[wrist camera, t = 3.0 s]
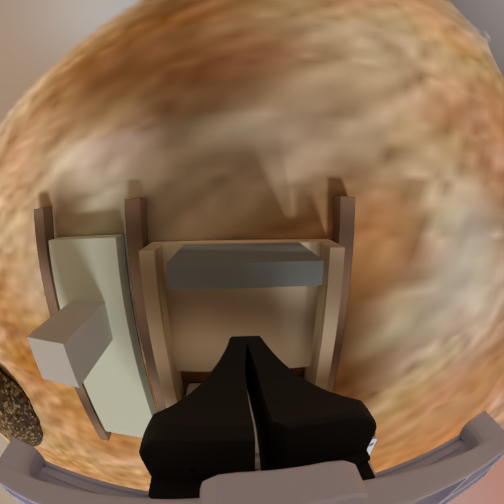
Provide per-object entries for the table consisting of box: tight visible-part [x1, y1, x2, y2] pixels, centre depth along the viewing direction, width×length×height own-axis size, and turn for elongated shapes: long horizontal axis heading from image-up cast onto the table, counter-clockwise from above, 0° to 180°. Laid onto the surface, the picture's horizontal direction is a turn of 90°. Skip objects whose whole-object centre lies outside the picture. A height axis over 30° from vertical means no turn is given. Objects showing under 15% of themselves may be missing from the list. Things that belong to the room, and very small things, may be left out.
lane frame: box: [34, 196, 355, 441], centre depth 16 cm, size 20×20×1 cm
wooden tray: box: [139, 239, 345, 408], centre depth 14 cm, size 18×10×5 cm, turn 0°
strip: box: [27, 234, 157, 438], centre depth 13 cm, size 16×5×6 cm, turn 0°
